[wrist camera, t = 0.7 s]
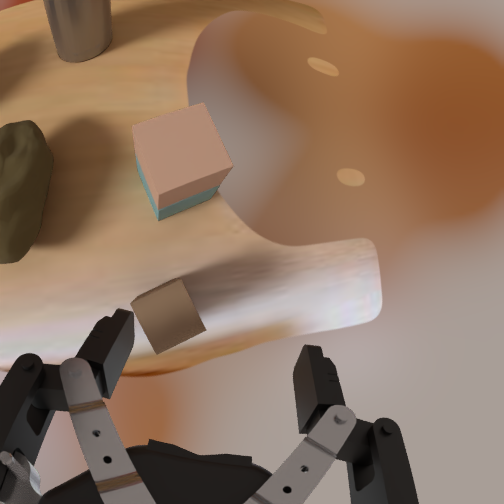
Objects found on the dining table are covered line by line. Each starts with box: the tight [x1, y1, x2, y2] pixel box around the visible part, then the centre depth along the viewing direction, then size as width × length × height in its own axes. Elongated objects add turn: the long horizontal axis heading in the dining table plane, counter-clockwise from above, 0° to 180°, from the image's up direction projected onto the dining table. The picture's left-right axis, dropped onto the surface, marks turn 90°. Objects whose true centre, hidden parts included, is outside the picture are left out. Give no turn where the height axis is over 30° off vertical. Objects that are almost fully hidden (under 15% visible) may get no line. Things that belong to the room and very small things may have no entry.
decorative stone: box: [0, 120, 53, 264], centre depth 25 cm, size 17×11×10 cm, turn 178°
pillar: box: [130, 278, 206, 354], centre depth 30 cm, size 5×5×10 cm
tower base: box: [135, 153, 220, 221], centre depth 33 cm, size 7×7×6 cm
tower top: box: [132, 103, 233, 210], centre depth 28 cm, size 7×7×6 cm
